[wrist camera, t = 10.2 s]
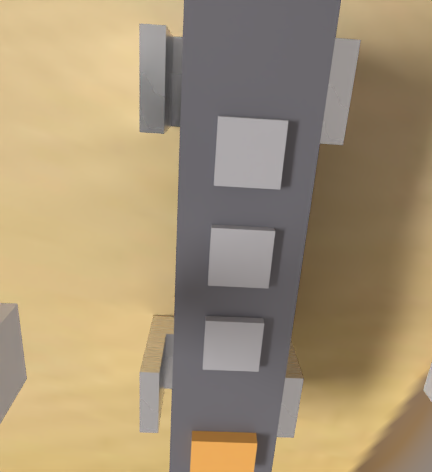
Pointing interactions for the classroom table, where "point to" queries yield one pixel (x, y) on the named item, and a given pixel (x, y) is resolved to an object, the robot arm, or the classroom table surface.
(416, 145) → the classroom table surface
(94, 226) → the classroom table surface
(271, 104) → the power strip
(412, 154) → the classroom table surface
